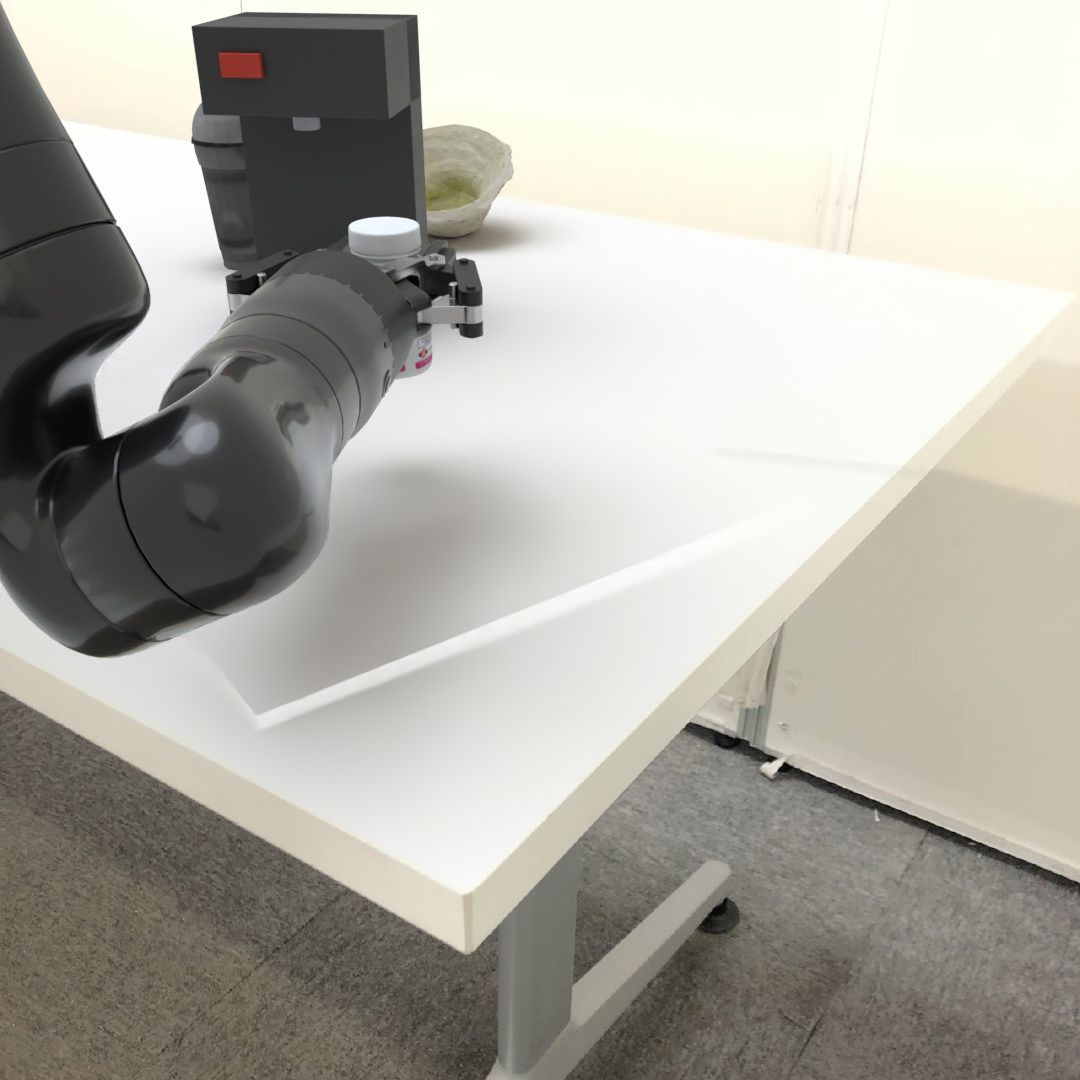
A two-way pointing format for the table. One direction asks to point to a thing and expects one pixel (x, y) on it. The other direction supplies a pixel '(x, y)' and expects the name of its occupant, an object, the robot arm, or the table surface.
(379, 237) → the pill bottle
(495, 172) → the bowl
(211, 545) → the robot arm
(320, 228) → the coffee maker
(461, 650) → the table surface
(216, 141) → the beverage cup
